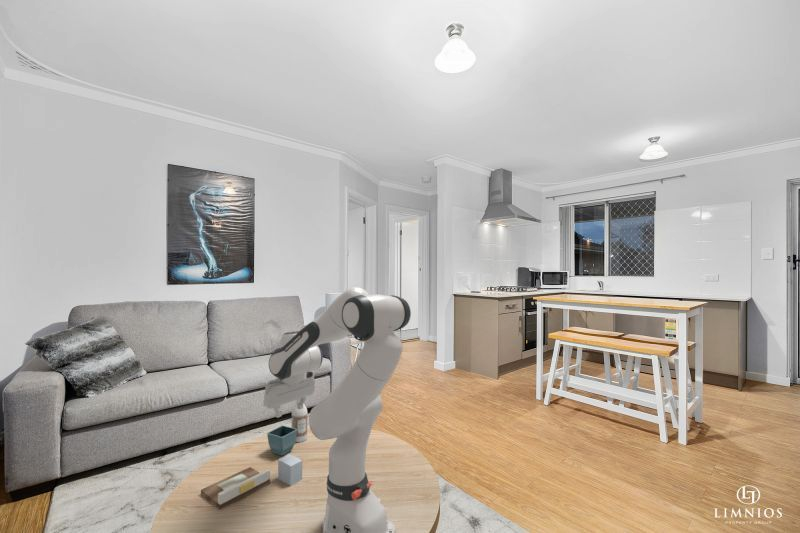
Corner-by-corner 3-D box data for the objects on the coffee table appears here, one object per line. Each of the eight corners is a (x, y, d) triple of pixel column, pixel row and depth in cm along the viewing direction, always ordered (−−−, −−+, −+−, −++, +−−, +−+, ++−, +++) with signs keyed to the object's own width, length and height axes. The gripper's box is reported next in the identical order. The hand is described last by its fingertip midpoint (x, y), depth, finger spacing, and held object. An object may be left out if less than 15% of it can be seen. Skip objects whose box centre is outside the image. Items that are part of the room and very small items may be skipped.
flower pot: (266, 454, 149) (266, 432, 149) (282, 445, 157) (282, 424, 157) (281, 459, 145) (281, 437, 145) (297, 450, 153) (297, 429, 153)
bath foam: (294, 444, 158) (294, 398, 159) (289, 438, 164) (289, 394, 164) (309, 440, 162) (309, 395, 162) (304, 434, 168) (304, 391, 168)
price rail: (271, 479, 129) (271, 471, 129) (221, 505, 114) (221, 495, 114) (267, 477, 130) (267, 469, 130) (217, 502, 116) (217, 493, 116)
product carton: (289, 472, 136) (290, 453, 136) (302, 479, 132) (302, 460, 132) (278, 478, 132) (278, 459, 132) (290, 486, 128) (290, 466, 128)
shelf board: (270, 483, 129) (270, 478, 129) (220, 509, 115) (220, 504, 115) (249, 471, 137) (250, 466, 137) (200, 494, 122) (200, 489, 122)
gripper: (271, 384, 121) (269, 424, 122) (318, 371, 138) (316, 406, 138) (260, 379, 125) (258, 419, 125) (307, 367, 142) (306, 402, 142)
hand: (289, 412), depth 132 cm, fingers open, 8 cm apart
